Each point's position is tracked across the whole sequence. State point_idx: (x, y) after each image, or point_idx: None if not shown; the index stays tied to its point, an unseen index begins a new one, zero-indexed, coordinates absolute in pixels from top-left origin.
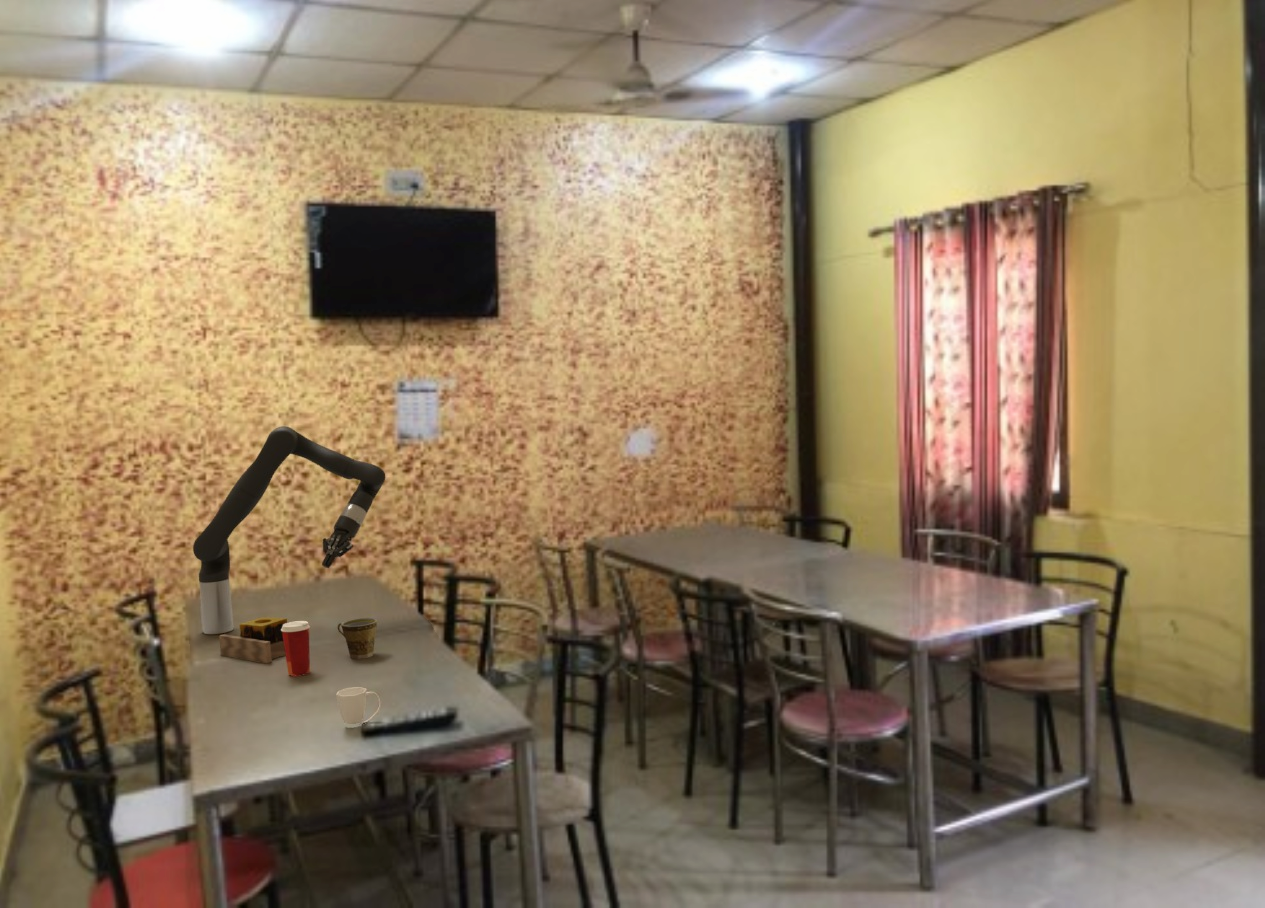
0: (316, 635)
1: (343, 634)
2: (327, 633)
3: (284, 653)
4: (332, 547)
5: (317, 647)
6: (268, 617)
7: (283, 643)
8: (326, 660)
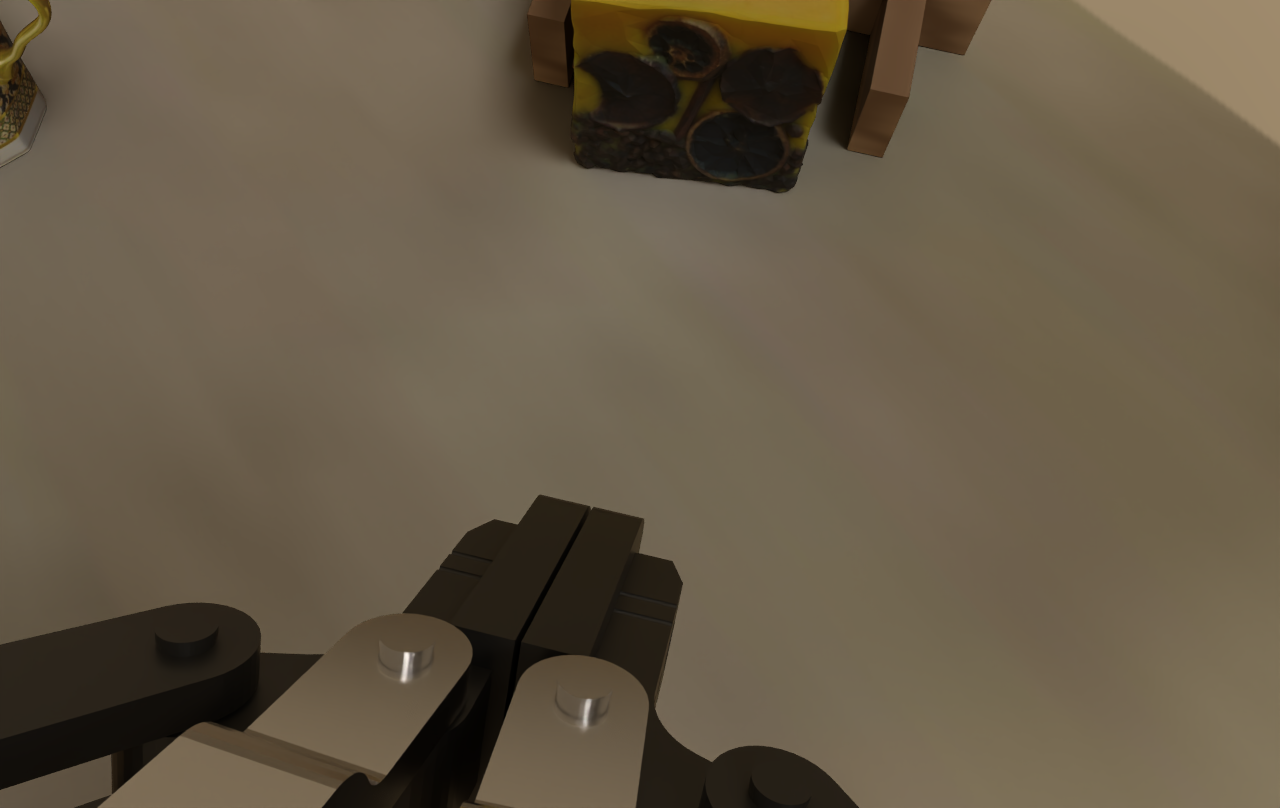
0: None
1: (22, 30)
2: None
3: (534, 70)
4: (350, 770)
5: (412, 252)
6: (777, 12)
7: (528, 19)
8: (171, 18)
